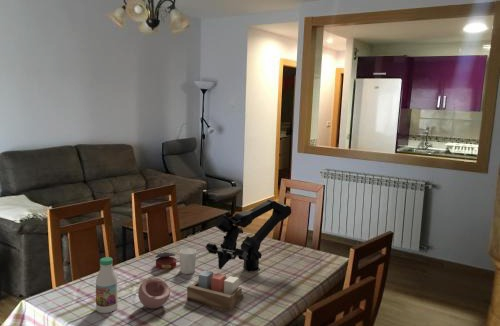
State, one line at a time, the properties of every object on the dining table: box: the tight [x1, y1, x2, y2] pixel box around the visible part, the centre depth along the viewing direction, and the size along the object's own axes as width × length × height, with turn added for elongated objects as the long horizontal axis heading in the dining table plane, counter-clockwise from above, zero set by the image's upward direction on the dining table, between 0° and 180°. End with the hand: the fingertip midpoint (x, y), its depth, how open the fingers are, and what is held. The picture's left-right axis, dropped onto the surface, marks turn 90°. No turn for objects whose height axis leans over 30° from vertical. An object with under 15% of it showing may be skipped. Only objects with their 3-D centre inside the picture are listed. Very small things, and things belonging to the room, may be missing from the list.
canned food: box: [155, 252, 177, 271], centre depth 196 cm, size 11×10×10 cm
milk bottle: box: [95, 256, 118, 314], centre depth 153 cm, size 8×8×20 cm
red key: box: [211, 272, 227, 292], centre depth 166 cm, size 5×4×8 cm
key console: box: [186, 279, 244, 313], centre depth 164 cm, size 12×19×6 cm, turn 66°
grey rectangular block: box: [198, 270, 214, 289], centre depth 168 cm, size 5×4×8 cm
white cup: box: [179, 247, 197, 275], centre depth 191 cm, size 8×8×10 cm
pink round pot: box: [137, 277, 171, 309], centre depth 156 cm, size 12×12×11 cm
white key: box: [224, 275, 240, 295], centre depth 163 cm, size 5×4×8 cm
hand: (219, 268), depth 179 cm, fingers closed
